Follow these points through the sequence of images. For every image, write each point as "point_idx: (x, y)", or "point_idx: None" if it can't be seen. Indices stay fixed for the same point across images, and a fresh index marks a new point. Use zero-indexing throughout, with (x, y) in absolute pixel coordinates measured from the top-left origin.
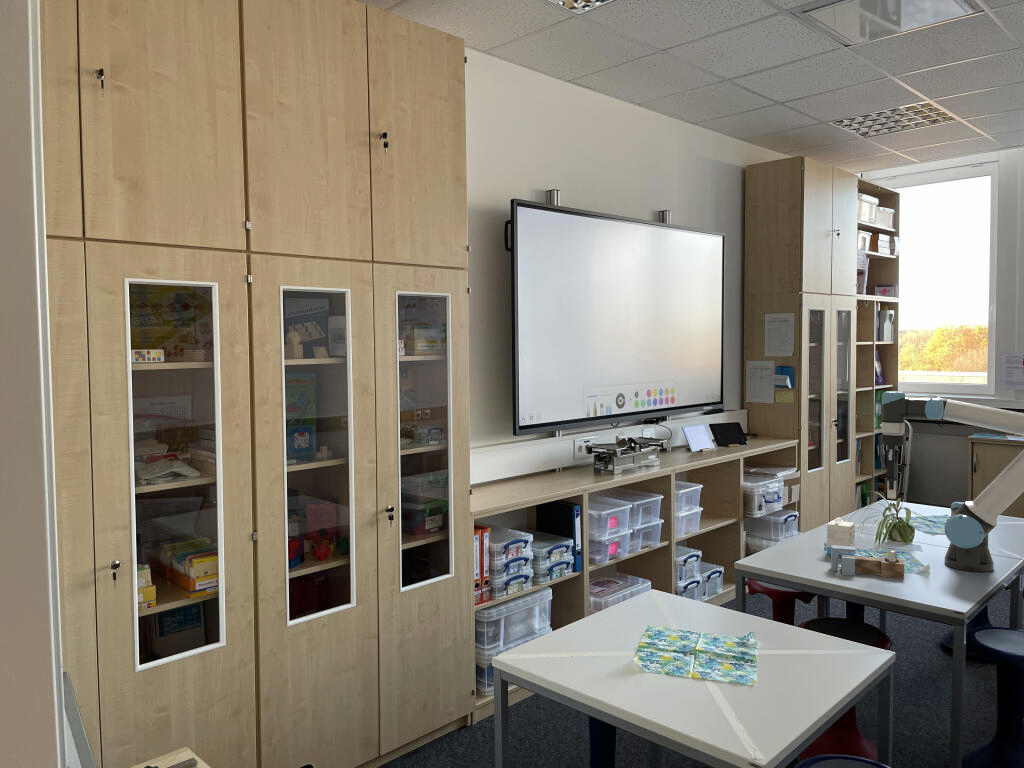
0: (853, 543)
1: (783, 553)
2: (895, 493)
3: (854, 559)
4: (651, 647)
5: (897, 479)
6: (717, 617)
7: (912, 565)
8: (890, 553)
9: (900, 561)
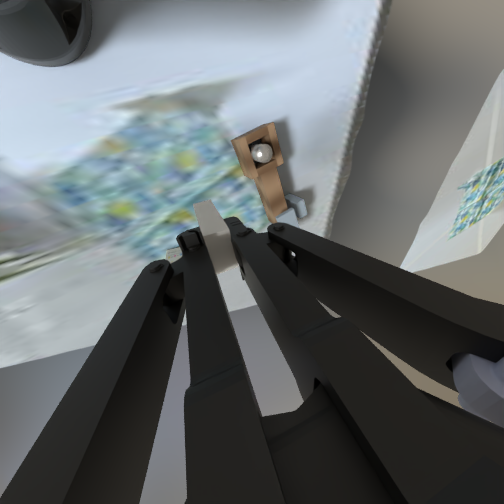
0: (177, 255)
1: (249, 293)
2: (214, 206)
3: (302, 199)
4: (476, 217)
5: (201, 233)
6: (434, 221)
7: (162, 137)
8: (271, 154)
9: (258, 135)
